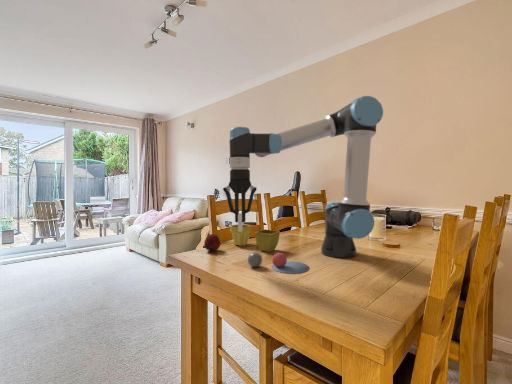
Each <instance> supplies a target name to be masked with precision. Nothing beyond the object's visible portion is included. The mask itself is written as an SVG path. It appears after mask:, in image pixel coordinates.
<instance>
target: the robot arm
mask: <svg viewBox="0 0 512 384" xmlns="http://www.w3.org/2000/svg"><path fill="white" fill-rule="evenodd" d="M383 116H384V108H383V105H382V103H381V102H380V101H379V100H378V99H377V98H375V97H374V96H371V95H362V96H361V97H360V96H359V97H357V98H355V99H354V100H353V101H352V102H350V103H348V104H347V105H345V106H343V107H342V108H340V109H339V110H337V111H336V112H333V113H331V114H329V115H326V116H325V117H324V118H323V119H319V120H318V121H314V122H311V123H308V124H304V125H301V126H298V127H294V128H291V129H289V130H288V129H287V130H284V131H282V132H277V133H273V132H271V133H253V132H251V131H250V128H249V127H245V126H234V127H232V128H231V129H230V130H229V169H230V170H229V177H230V178H229V182H228V185H227V186H225V187H223V189H222V190H223V192H224V194H225V195H226V200H227V204H228V207H229V208H228V209H229V213H232V214H234V222H235V223H237V224H238V232H242V231H243V223H245V222H246V214H247V213H249V212H251V208H252V205H253V199H254V195H255V193H256V191H257V190H258V187H256V186H254V185H252V182H251V171H250V168H251V165H250V164H251V158H250V155H251V154H254V155H255V156H257V157H258V158H265V157H266V156H269V155H274V154H279V153H281V151H285V150H288V149H291V148H294V147H297V146H301V145H304V144H307V143H311V142H314V141H316V140H321V139H323V138H326V137H327V138H328V137H331V138H334V137H338V136H341V135H344V136H345V137H346V138H347V142H346V155H345V167H344V168H345V171H344V181H343V183H344V184H343V195H342V196H343V197H342V199H340V200H339V201H337V202H327V203H326V205H325V210H324V213H325V217H324V218H325V219H324V220H325V221H324V223H325V225H324V226H325V228H324V232H325V233H324V239H323V242H322V244H321V248H320V249H321V251H320V252H321V254H322V255H324V256H327V257H332V258H341V259H347V258H348V259H350V258H353V257H354V258H355V257H356V256H357V247H356V244H355V242H354V239H357V240H358V239H364V238H366V237H367V236H369V235H370V234H371V233H372V232H373V229H374V226H375V217H374V216H373V214H372V213H371V210H370V209H371V203H370V202H369V201H368V200H367V197H368V196H367V195H368V194H367V193H368V183H369V182H368V181H369V180H368V179H369V169H370V167H369V166H370V156H371V155H370V154H371V143H372V138H373V137H374V136H375V135H376V134H377V124H379V123H380V121H382V119H383ZM249 190H250V194H249V199H248V203H247V205H246V193H247V192H248V191H249ZM230 191H232V193H234V203H233V199H232V195H231V192H230ZM240 194H241V213H240V206H239V204H240V203H239V202H240V201H239V199H240V196H239V195H240ZM246 206H247V207H246Z"/></svg>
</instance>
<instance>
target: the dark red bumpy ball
mask: <svg viewBox="0 0 512 384" xmlns="http://www.w3.org/2000/svg"><path fill="white" fill-rule="evenodd" d="M203 246H204V249H206V250H207V251H209V252H215V251H217V250H219V249H220V247H221V240H220V237H219V235H217V234H216V233H212V234H208V235H207V236H206V237H205V240H204V245H203Z"/></svg>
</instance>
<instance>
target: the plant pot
mask: <svg viewBox="0 0 512 384" xmlns="http://www.w3.org/2000/svg"><path fill="white" fill-rule="evenodd" d="M229 229H230V233H231V236H232V240H233V244H235V245H234V246H236V245H239V246H240V247H243V246H244V247H245V246H247V245H248V242H249V236H250V233H251V225H249V224H243V231H242V232H238V223H236V224H232V225H230V227H229ZM239 246H238V247H239Z"/></svg>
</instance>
